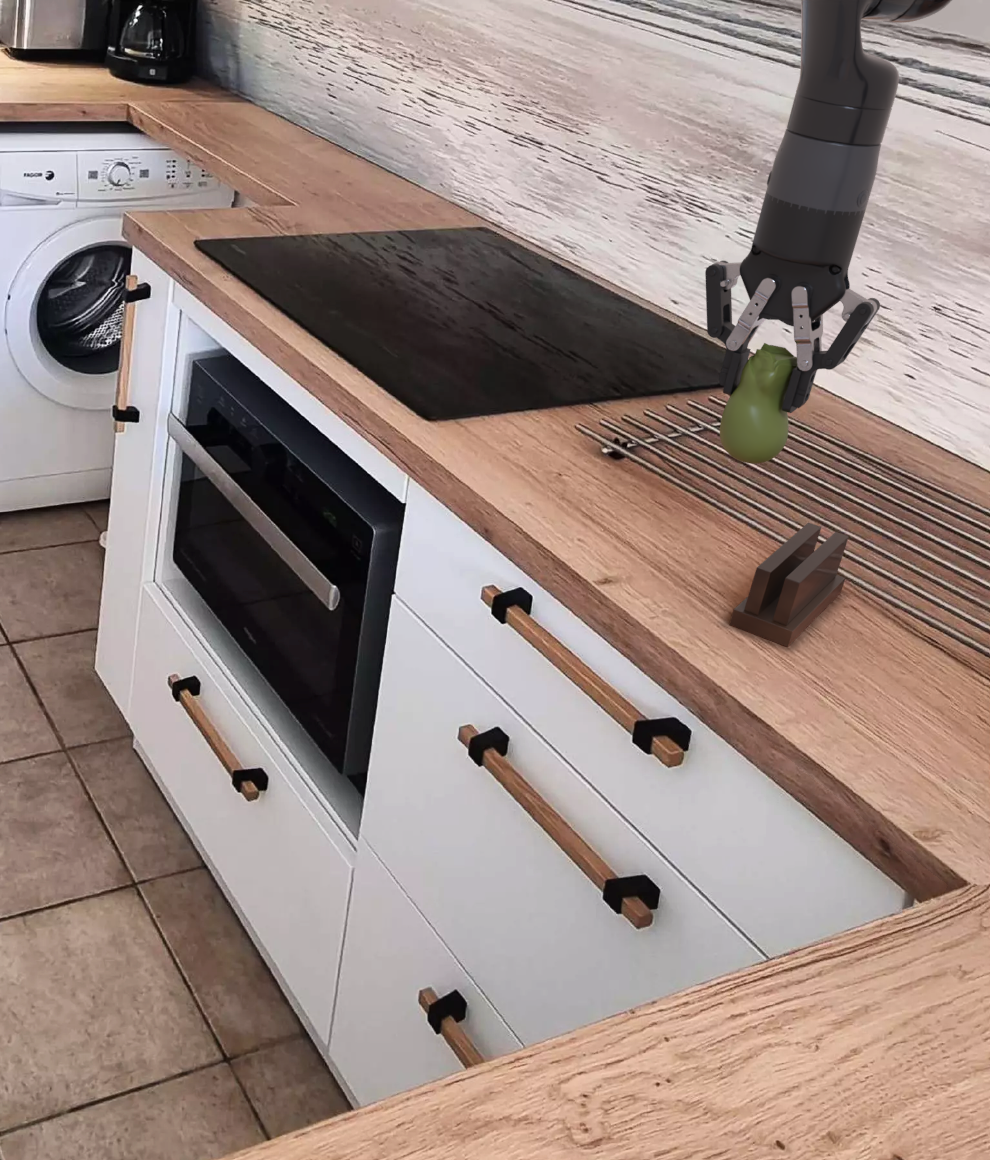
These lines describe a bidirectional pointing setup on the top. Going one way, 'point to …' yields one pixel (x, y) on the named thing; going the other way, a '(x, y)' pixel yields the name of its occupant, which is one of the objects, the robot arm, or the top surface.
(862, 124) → the robot arm
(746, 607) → the holder
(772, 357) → the pear
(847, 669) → the top surface
